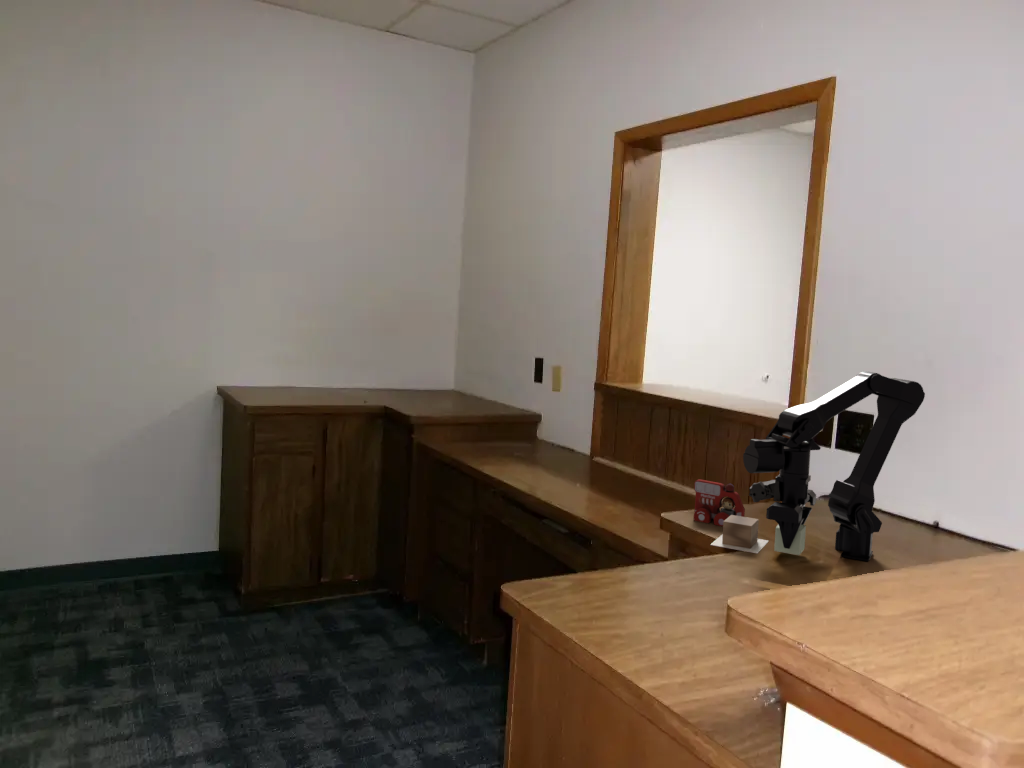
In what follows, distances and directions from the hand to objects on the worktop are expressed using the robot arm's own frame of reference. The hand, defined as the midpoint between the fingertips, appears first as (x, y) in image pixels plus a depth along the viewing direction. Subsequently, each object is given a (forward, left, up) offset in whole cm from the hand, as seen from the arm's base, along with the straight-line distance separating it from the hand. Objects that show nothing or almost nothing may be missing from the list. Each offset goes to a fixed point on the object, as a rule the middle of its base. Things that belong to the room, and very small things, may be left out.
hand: (789, 544), depth 165 cm
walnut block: (+11, -3, -2) cm, 11 cm away
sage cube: (0, 0, -1) cm, 1 cm away
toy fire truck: (+20, -16, -4) cm, 26 cm away
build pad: (+11, -3, -3) cm, 12 cm away
